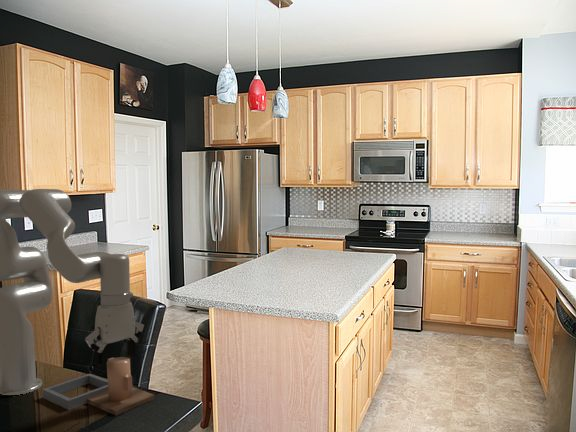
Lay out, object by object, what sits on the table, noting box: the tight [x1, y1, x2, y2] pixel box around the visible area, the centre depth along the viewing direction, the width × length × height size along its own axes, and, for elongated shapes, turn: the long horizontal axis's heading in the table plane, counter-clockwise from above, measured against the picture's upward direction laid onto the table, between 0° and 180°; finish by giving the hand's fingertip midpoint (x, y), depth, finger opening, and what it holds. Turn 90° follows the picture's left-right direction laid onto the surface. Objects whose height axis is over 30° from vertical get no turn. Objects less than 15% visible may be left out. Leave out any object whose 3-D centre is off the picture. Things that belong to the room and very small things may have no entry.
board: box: [86, 386, 156, 416], centre depth 130 cm, size 14×12×1 cm
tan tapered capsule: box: [106, 356, 134, 401], centre depth 129 cm, size 6×9×10 cm, turn 52°
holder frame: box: [42, 373, 108, 411], centre depth 135 cm, size 14×14×2 cm
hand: (116, 360), depth 130 cm, fingers open, 9 cm apart
